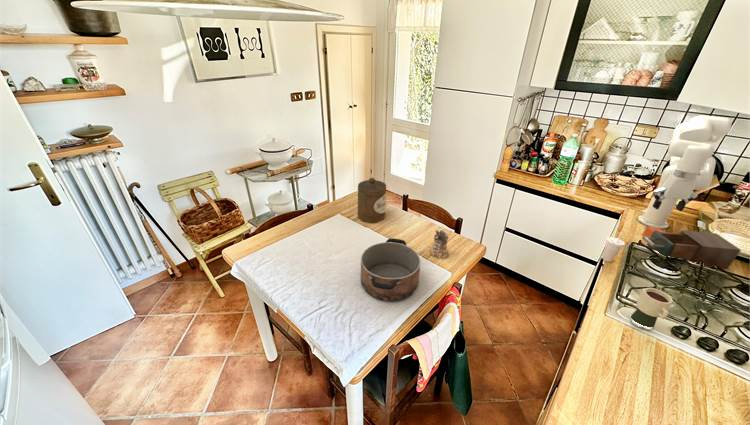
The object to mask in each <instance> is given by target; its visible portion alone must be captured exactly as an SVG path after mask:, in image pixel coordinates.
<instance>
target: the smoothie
mask: <svg viewBox="0 0 750 425" xmlns="http://www.w3.org/2000/svg"><path fill="white" fill-rule="evenodd" d="M622 235H623V232H622V231H621V232H620V233H619V234H618V237H614V236H608V237H607V238H606V239H605V242H606V243H605V246H604V250H603V254H602V257H601V259H602V260H603V261H605V262H608V263H612V262H613V261H614V260H615V258H616V257H617V255H618V254H619V253H620V252H621V249H622V248H624V247H625V245H626V243H625V241H624V240H622V239H620V238H621V237H622Z"/></svg>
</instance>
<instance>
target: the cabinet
mask: <svg viewBox="0 0 750 425" xmlns="http://www.w3.org/2000/svg"><path fill="white" fill-rule="evenodd" d="M678 234H684V235H685V236H687V237H688V238H689V239H691V240H692V241H693V242H695V243H696V244H697V245H699V246H700V248H699V250H698V251H697V253H696V254H695V256H694V257H693V259H692V260H691V261H692V262H699V261H700V260H701V259H702V260H703V263H704V266H703V267H706V266H708V267H707V268H714V267H713V265H714V264H717V265H718V267H719V268H718V269H726V270H728V269H729V267H731V264H732V263H733V262H734V260H735V259H736V258H737V256H738V255H739V254H740V252H741V251H742V249H740V248H739V247H737V246H736V245H734V244H733V243H731V242H730V241H728V240H727V239H725V238H724V237H722V236H721V235H719V234H718V233H715V232H705V231H704V232H703V231H693V230H683V229H682V230H680V232H679V233H678ZM689 261H690V260H689Z"/></svg>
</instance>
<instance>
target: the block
mask: <svg viewBox="0 0 750 425" xmlns="http://www.w3.org/2000/svg"><path fill="white" fill-rule="evenodd" d="M654 230H657V231H659V232H660V233H662V232H664V231H663V229H660V228H658V227H650V226H647V225H646V227H645V229H644V231H643V232H642V237H643V236H646V237H649V238H651V236H652V234H653V232H654Z"/></svg>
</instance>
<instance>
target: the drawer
mask: <svg viewBox="0 0 750 425" xmlns="http://www.w3.org/2000/svg"><path fill="white" fill-rule="evenodd" d="M641 238H642V240H644V242H646V245H647V246H648V248H650V247H651V248H652V249H654V250H657V251H658V252H659V253H660V254H662V255H664V256H666V257H667V258H668V256H670V257H678V258H683V259H687V260H690V261H691V260H692V259H693V257H694V256H695V254H696V253H697V251H698V250H699V248H700V246H699V245H697V244H696V243H695V242H693V241H692V240H691V239H689V238H688V237H687V236H685V235H684V234H679V233H675V232H665V231H663V232H662V233H660V232H659V231H657V230H654V232H653V234H652V236H651V238H649V237H646V236H643V235H642V236H641ZM651 248H650V249H651ZM652 249H651V250H652Z"/></svg>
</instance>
